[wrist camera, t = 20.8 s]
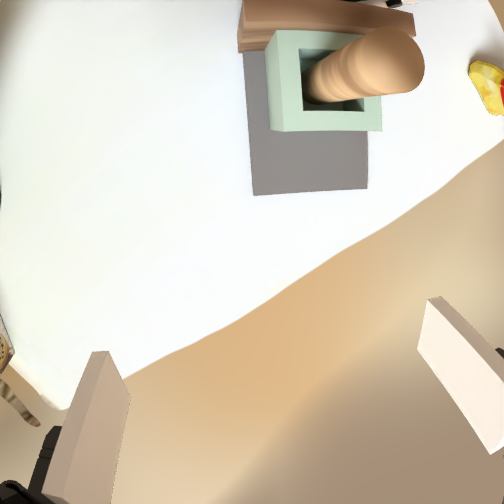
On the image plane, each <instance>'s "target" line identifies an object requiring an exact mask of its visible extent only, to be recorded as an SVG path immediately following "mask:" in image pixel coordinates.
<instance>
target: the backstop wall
mask: <svg viewBox="0 0 504 504" xmlns="http://www.w3.org/2000/svg"><path fill="white" fill-rule="evenodd" d="M387 26H388V27H394V28H397V29H400V30H402V31H404V32H405V33H407V34H408V35H409V36H410V37H411V38H412V37H415V36H416V32H415V25H414V18H413V14H412V13H408V12H404V11H399V10H395V9H390V8H385V7H379V6H374V5H368V4H362V3H355V2H348V1H340V0H243V2H242V8H241V14H240V20H239V26H238V32H237V40H238V53H243V52H244V51H264V50H265V48H266V47H267V45H268V43H269V42H270V40H271V38H272V36H273V35H274V33H275V31H276V30H302V31H322V32H336V33H347V34H356V35H365V34H367V33H369V32H371V31H373V30H375V29H377V28H379V27H387Z"/></svg>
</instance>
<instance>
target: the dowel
mask: <svg viewBox="0 0 504 504" xmlns="http://www.w3.org/2000/svg"><path fill="white" fill-rule="evenodd" d="M424 69H425V65H424V59H423V55H422V53H421V50H420V48H419V47H418V45H417V44H416V42H415V41H414V40H413V39H412V38H411V37H410V36H409V35H408V34H407V33H405V32H404V31H402V30H400V29H397V28H394V27H388V26H387V27H379V28H377V29H375V30H373V31H371V32H369V33H367V34H365V35H364V36H362V37H360V38H358V39H356V40H355V41H353V42H351V43H349V44H348V45H346V46H344V47H342V48H341V49H339V50H337V51H335V52H334V53H332V54H330V55H329V56H327V57H325V58H324V59H322V60H321V61H319V62H317V63H316V64H314V65H312V66H311V67H309V68H308V69H306V70H305V71H303V72H302V73H301V88H302V98H303V99H304V100H305V101H306V102H308V103H310V104H314V105H321V104H327V103H332V102H338V101H344V100H351V99H357V98H364V97H372V96H380V95H388V94H397V93H406V92H410V91H412V90H414V89H415V88H416V87H417V86H418V85H419V84H420V83H421V81H422V79H423V76H424Z"/></svg>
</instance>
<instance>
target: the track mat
mask: <svg viewBox="0 0 504 504" xmlns="http://www.w3.org/2000/svg"><path fill="white" fill-rule="evenodd" d="M243 64H244V77H245V90H246V104H247V117H248V131H249V144H250V158H251V172H252V186H253V195H254V196H259V195H272V194H285V193H299V192H315V191H332V190H352V189H367V131H345V130H329V131H287V132H283V131H275V130H270V118H269V103H268V89H267V76H266V63H265V51H244V52H243Z"/></svg>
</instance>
